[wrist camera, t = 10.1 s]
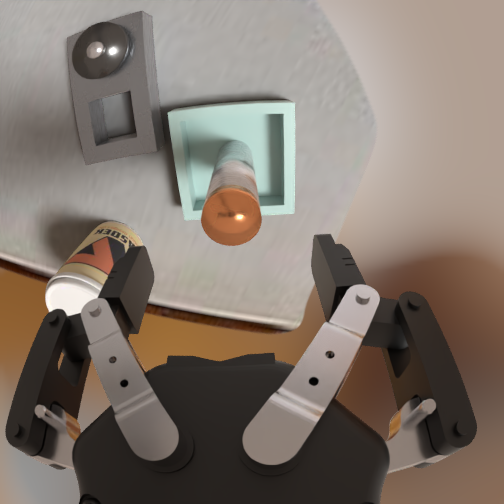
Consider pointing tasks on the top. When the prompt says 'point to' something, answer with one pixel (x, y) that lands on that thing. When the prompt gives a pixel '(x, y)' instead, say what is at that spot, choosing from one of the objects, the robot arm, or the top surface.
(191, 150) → the tray
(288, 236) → the top surface
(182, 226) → the top surface
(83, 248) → the coffee cup
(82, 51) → the block
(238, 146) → the pin
